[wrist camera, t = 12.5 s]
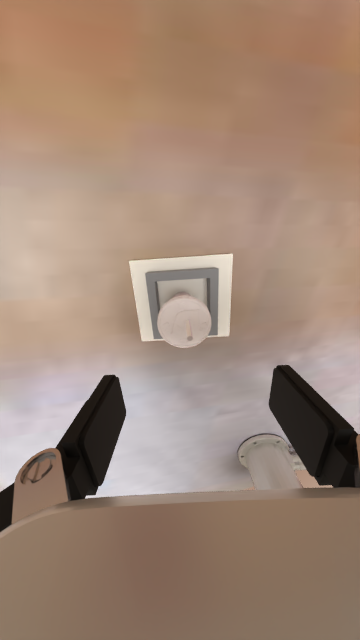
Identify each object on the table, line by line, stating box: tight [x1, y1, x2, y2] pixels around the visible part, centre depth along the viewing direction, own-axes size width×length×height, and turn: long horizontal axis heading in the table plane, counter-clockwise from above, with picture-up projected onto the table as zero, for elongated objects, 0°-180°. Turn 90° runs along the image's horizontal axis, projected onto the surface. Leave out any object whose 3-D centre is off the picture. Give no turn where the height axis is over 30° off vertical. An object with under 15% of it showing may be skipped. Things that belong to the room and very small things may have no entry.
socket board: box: [129, 254, 233, 341], centre depth 28 cm, size 16×14×4 cm
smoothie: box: [157, 292, 211, 348], centre depth 22 cm, size 6×6×14 cm
